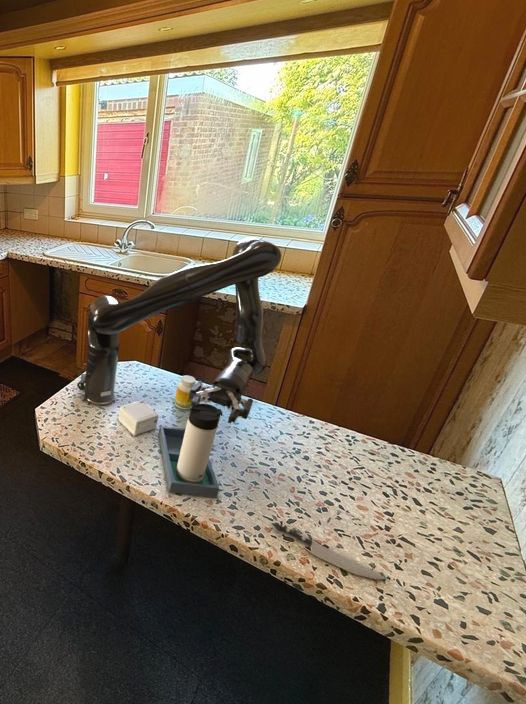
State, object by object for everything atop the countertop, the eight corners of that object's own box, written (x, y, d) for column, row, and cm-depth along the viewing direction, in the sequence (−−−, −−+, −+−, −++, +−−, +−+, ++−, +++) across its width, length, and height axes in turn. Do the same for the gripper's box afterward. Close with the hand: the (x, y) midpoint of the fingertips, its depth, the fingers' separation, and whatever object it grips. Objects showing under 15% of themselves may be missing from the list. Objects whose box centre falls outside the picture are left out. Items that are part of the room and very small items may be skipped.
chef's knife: (386, 593, 73) (386, 579, 75) (389, 589, 73) (389, 576, 75) (271, 535, 83) (273, 524, 85) (272, 531, 83) (275, 521, 85)
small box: (134, 436, 111) (136, 421, 108) (117, 419, 117) (119, 405, 115) (156, 429, 113) (159, 414, 111) (139, 413, 120) (141, 399, 117)
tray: (169, 492, 93) (171, 482, 92) (158, 434, 111) (159, 425, 110) (216, 497, 92) (219, 488, 91) (197, 438, 110) (199, 429, 109)
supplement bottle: (179, 397, 127) (184, 372, 123) (195, 404, 124) (201, 378, 119) (170, 404, 124) (176, 378, 119) (187, 412, 120) (193, 385, 116)
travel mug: (206, 487, 94) (225, 420, 85) (177, 483, 95) (193, 416, 86) (202, 468, 99) (219, 403, 90) (174, 464, 100) (189, 399, 91)
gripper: (206, 363, 110) (185, 389, 99) (263, 381, 102) (247, 412, 91) (201, 386, 114) (180, 413, 102) (255, 405, 106) (239, 437, 94)
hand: (211, 412), depth 97 cm, fingers open, 8 cm apart
